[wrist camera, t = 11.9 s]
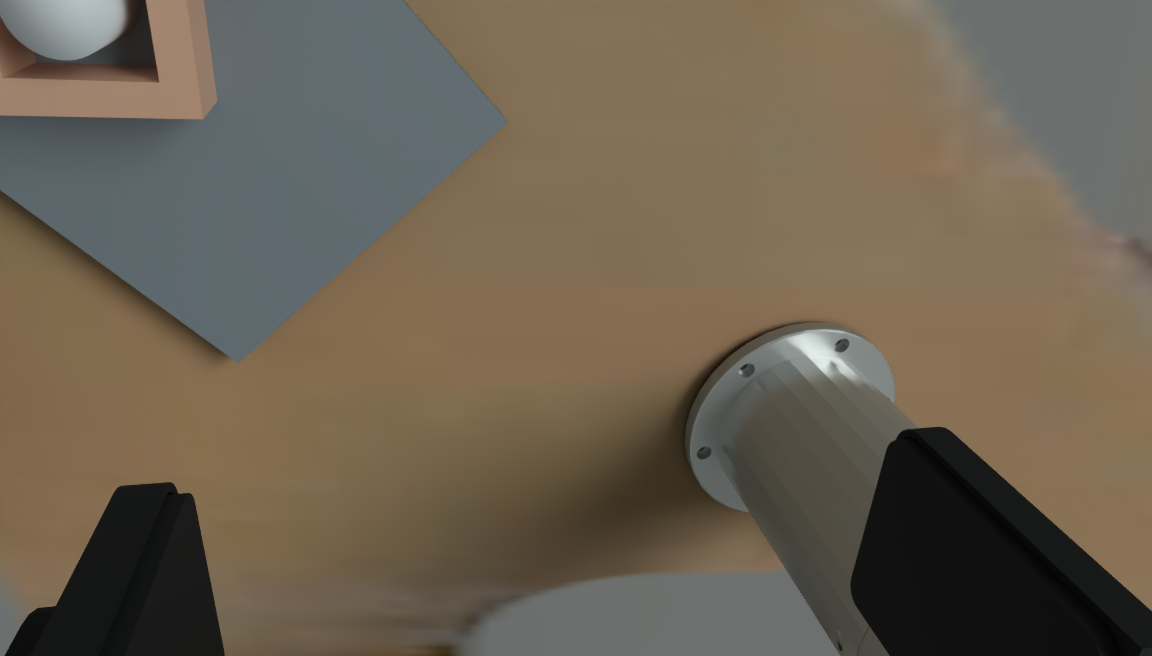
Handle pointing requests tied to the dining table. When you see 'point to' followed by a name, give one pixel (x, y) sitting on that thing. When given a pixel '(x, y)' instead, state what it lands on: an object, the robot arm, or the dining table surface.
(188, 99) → the square frame with tab
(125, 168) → the board
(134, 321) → the dining table surface
